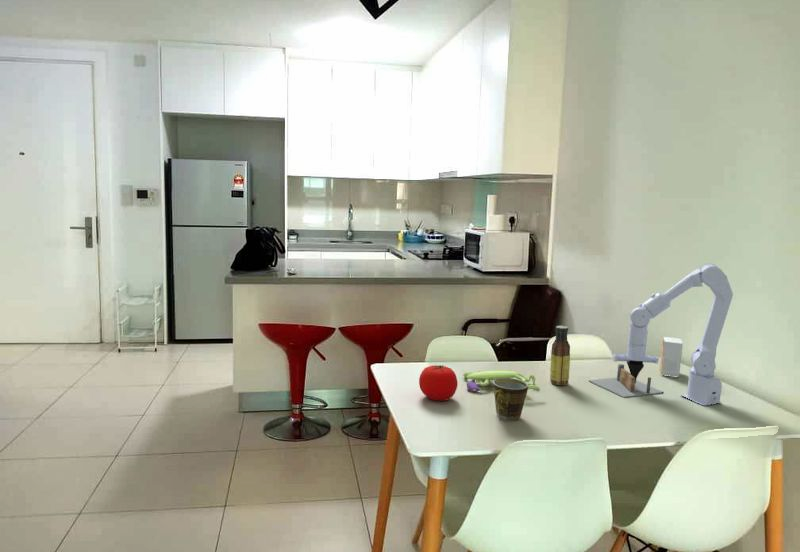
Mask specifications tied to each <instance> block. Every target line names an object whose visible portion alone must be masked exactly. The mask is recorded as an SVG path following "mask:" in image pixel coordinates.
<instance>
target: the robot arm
mask: <svg viewBox="0 0 800 552" xmlns="http://www.w3.org/2000/svg"><path fill="white" fill-rule="evenodd" d="M702 283H703V284H704V285H706V286H707V287H708V288H710V290H711V291H712V293H713V295H714V298H713V301H712V304H711V308H710V310H709V314H708V317H707V320H706V323H705V326H704V330H703V333H702V336H701V339H700V342H699V343H698V345H697V348H696V349H695V351H694V352H692V354H691V356H690V360H691V363H692V364H693V366H692V367H691V368H690V369H689V372H688V373H689V374H688V382H687V389H686V393H681V394H680V395H682V396H683V395H684V397H686V398H685V399H687V398H688V399H687V400H689V399H690V401H691V400H692V401H691V402H694V403H696V404H698V403H699V405H701V406H704V407H705V406H711V404H712V405H717V404H716V403H720V404H722V401H721V396H722V395H721V393H722V387H723V386H722V381H721V379H719V378H718V377H716V375H715V370H716V367H717V366H716V365H717V364H716V356H717V346H718V344H719V341H720V337H721V335H722V332H723V328H724V325H725V322H726V318H727V316H728V312H729V310H730V309H729V308H730V306H731V302H732V299H733V296H734V293H733V289H732V287H731V285H730V282H729V280H728V276H727V275H726V274H725V272H724V271H723V270H722V269H721V268H720V267H718V266H717V265H716V264H715V263H705V264H703V265H701V267H699V268H697V269H695V270H693V271H692V272H690V273H689V274H687V275H686V276H685V277H684V278H682V279H681V280H680V281H678V282H676V283H675V284H674V285H673V286H671V288H669V289H668V290H666V291H665V292H664V293H663V292H656V293H652V294H651V295H650V298H648V299H647V300H646V301H644V302H643V303H639V304H638V307H635V308H633V309H632V310H631V312H630V313H629V318H630V320H631V321H630V324H629V330H628V339H627V351H626V353H619V354H618V353H617V354H616V353H615V354H614V353H613V354H612V361H614V362H626V364H627V367H628V369H629V373H630V374H631V375H632V376H633V377H635V378H636V379H635V384H636V380H637V378H638V376H639V375H640V372H641V371H642V370H643V368H644V365H645V364H644V363H649V364H650V363H653V364H659V357H658V356H655V355H654V356H653V355H647V354H646V352H647V351H646V350H647V340H648V325H649V324H650V322H651V319H655V318H656V317H657V316H658V315H660V314H662V313H663V312H664V311H666V310H667V309H669V308H670V307H671V302H672V301H673V300H674V299H676V298H678V297H679V296H680V295H682V294H684V293H685V292H686V291H688V290H690V289H691V288H695V287H698V288H699V287H703V286H704V285H703V284H702ZM682 396H681V397H682ZM684 397H683V398H684Z"/></svg>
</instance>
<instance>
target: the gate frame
mask: <svg viewBox="0 0 800 552" xmlns="http://www.w3.org/2000/svg"><path fill="white" fill-rule="evenodd" d="M621 368H624V369H625V365H624V364H623V363H618V364H617V372H616V373H617V375H616V377H608V378H599V379H598V378H597V379H588V382H589V383H591V384H594V385H595V386H598V387H600V388H602V389H604V390H606V391H608V392H611V393H612V394H614V395H616V396H618V397H620V398H623V399H626V398H634V396H635V397H641V395H643V396H648V395H647V394H652V395H655V394H654V393H660V394H662V393H661V392H663V390H660V389H658V388H655V387H653V386H651V382H652V377H650V376H649V377H647V384H645V383H643V382H641V381H639V380H637V379H636V384H635V388H634V391H630V390H629V389H628V388H627V387H626V386H625V385H624V384H623V383H622V382H621V381H619V380H620V370H621Z"/></svg>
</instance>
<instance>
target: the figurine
mask: <svg viewBox="0 0 800 552" xmlns="http://www.w3.org/2000/svg"><path fill="white" fill-rule="evenodd" d="M462 376H463V377H464V378H467V379H469V380H470V381H468V382H466V389H468V390H469V389H470V390H472V391H480V392H481V386H482V387H486V386H488V384H489V382H490V381H492V382H493V381H494V380H496V379H499V378H513V379H518V380H522V381H524V382H526V383H529V382H531V380H532V384H528V390H537V391H540V386H538V385H535V384H536V377H535V375H533V374H532V373H531V374H529V377H528V378H527V377H526V376H525V375H522V374H521V373H518V372H517V371H512V370H511V371H510V370H488V371H486V370H485V371H481V370H479V371H478V372H474V373H473V372H470V371H467V372H463V374H462ZM470 390H469V391H470ZM472 391H471V392H472Z"/></svg>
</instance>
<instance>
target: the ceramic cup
mask: <svg viewBox="0 0 800 552" xmlns="http://www.w3.org/2000/svg"><path fill="white" fill-rule="evenodd" d="M528 385H529V383H528V382H524V381H522V380H519V379H517V378H499V379H496V380H493V381H492V386H493V387H492V388H493V394H494V405H495V413H496V416H497V417H498V419H500V418H501V419H500V420H503V419H504V421H506V420H509V421H511V422H512V421H513V422H514V421H517V420H519V419H520V418H521V416H522V412H523V408H524V406H525V405H524V404H525V400H526V397H527V395H528V394H527V393H528V390H529V389H528ZM509 421H508V422H509Z"/></svg>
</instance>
